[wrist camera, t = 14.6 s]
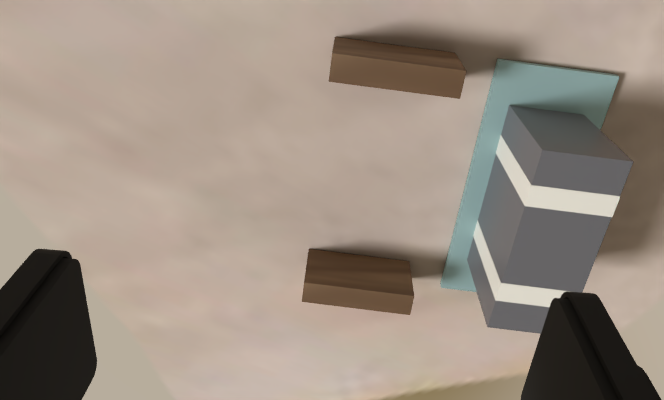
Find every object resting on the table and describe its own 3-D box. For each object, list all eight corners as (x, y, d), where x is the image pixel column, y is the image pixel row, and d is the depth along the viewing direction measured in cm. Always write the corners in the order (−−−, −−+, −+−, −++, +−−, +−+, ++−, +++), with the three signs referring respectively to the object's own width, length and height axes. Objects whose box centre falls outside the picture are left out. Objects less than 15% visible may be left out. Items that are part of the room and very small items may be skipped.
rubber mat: (497, 58, 34) (499, 60, 33) (616, 74, 34) (619, 76, 34) (440, 283, 41) (441, 287, 41) (538, 295, 41) (540, 299, 41)
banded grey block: (508, 104, 35) (542, 150, 28) (583, 114, 35) (634, 161, 28) (466, 259, 40) (487, 327, 33) (532, 267, 40) (565, 336, 33)
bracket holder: (334, 36, 34) (332, 53, 30) (455, 52, 34) (466, 70, 30) (306, 266, 41) (301, 301, 37) (405, 279, 41) (409, 314, 38)
